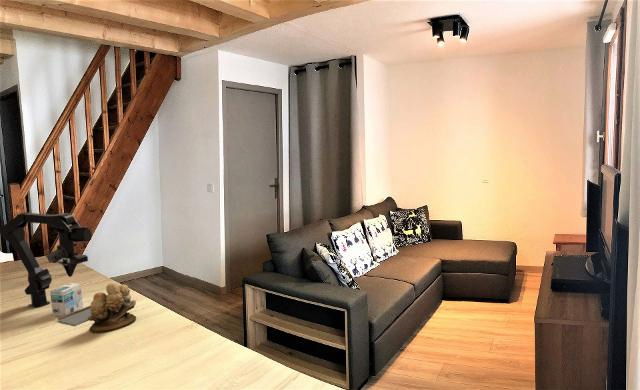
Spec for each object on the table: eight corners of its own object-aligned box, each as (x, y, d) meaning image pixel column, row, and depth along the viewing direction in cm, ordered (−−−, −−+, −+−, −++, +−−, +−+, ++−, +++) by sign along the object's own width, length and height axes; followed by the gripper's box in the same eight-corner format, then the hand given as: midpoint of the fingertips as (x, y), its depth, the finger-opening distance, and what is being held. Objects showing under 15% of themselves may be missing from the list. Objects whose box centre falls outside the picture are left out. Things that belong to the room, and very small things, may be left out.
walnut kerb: (58, 320, 181) (57, 317, 181) (93, 306, 195) (93, 304, 195) (59, 320, 181) (59, 318, 181) (95, 306, 195) (95, 304, 195)
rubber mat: (58, 321, 180) (57, 320, 180) (98, 306, 195) (98, 305, 195) (75, 325, 174) (75, 324, 174) (115, 309, 190) (114, 308, 190)
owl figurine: (131, 314, 185) (127, 274, 182) (143, 321, 176) (140, 280, 174) (84, 328, 172) (80, 285, 170) (95, 337, 164) (91, 292, 162)
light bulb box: (66, 316, 185) (63, 291, 184) (52, 316, 186) (49, 291, 185) (84, 307, 195) (81, 283, 194) (71, 306, 197) (68, 282, 195)
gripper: (35, 244, 193) (39, 279, 194) (62, 248, 184) (66, 284, 186) (59, 239, 202) (63, 272, 204) (87, 242, 194) (90, 276, 196)
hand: (70, 276), depth 198 cm, fingers closed
